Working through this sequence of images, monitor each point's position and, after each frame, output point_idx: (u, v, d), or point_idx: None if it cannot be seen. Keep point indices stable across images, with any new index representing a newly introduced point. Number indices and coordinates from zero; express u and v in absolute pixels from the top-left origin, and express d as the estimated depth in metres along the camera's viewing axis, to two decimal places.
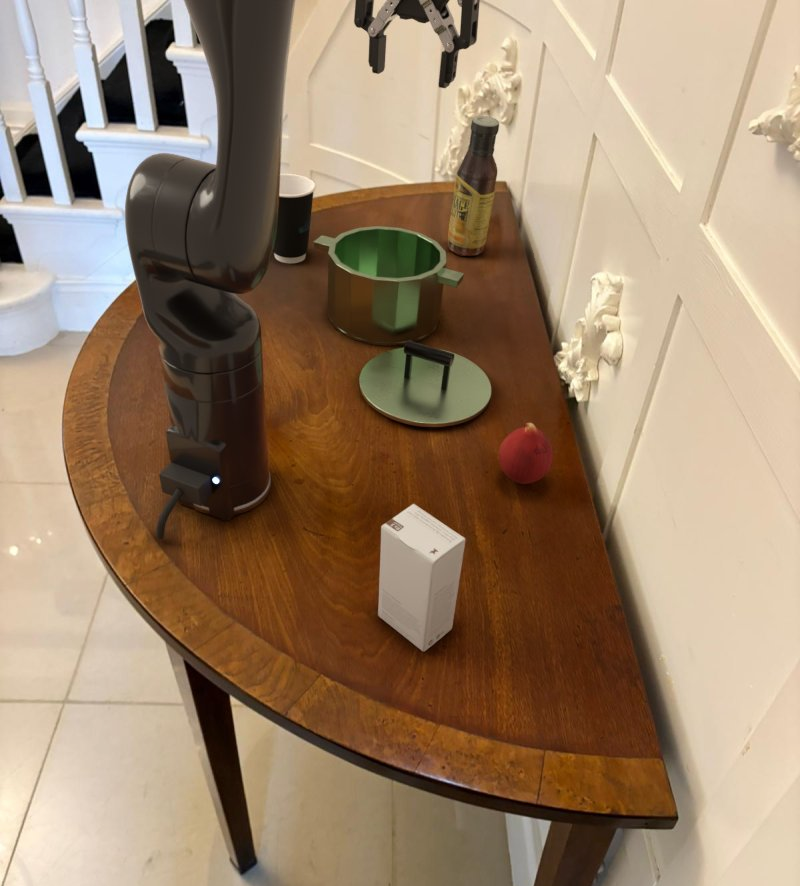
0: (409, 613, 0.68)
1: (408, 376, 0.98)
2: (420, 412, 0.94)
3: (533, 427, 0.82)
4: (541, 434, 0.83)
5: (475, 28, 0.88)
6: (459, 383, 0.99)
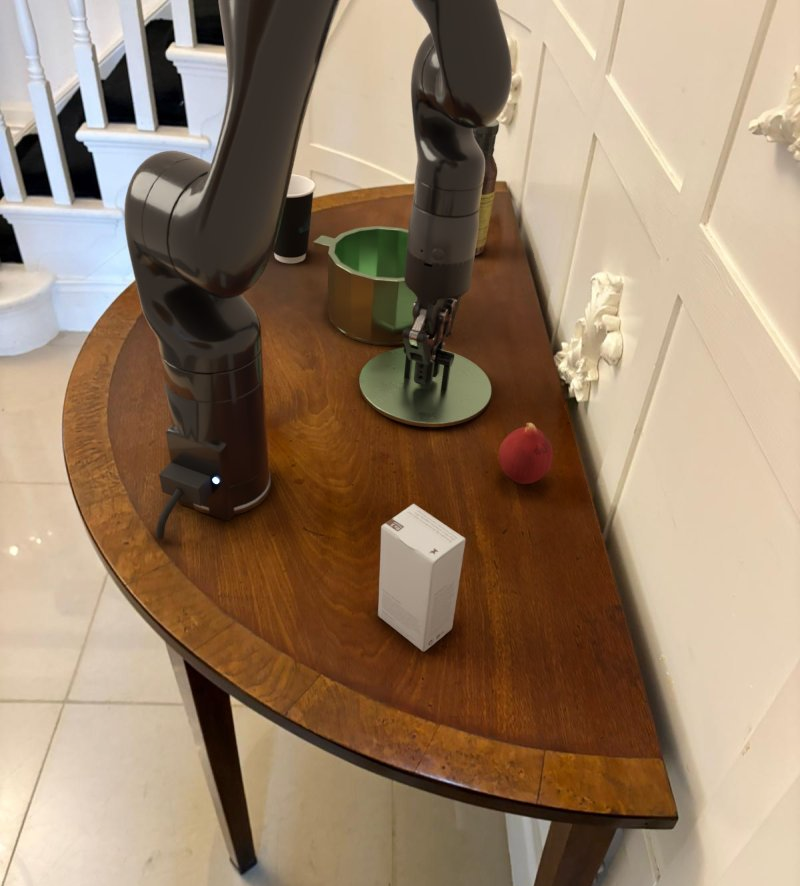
0: (409, 613, 0.68)
1: (408, 376, 0.98)
2: (420, 412, 0.94)
3: (533, 427, 0.82)
4: (541, 434, 0.83)
5: (423, 358, 0.91)
6: (459, 383, 0.99)
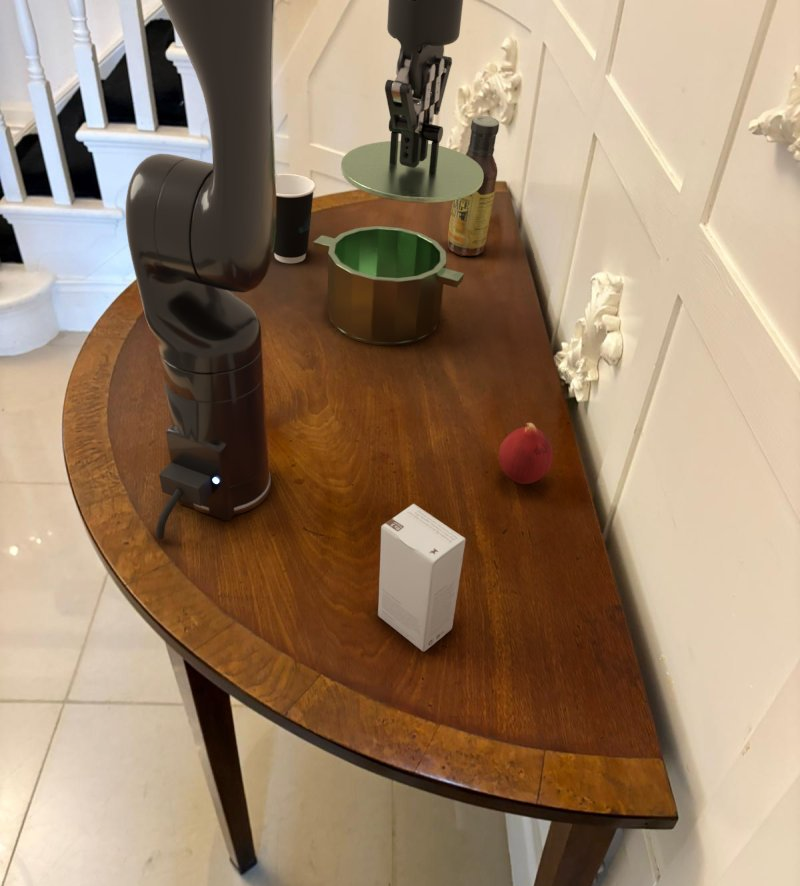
0: (409, 613, 0.68)
1: (394, 160, 0.91)
2: (405, 189, 0.87)
3: (533, 427, 0.82)
4: (541, 434, 0.83)
5: (407, 121, 0.84)
6: (449, 169, 0.92)
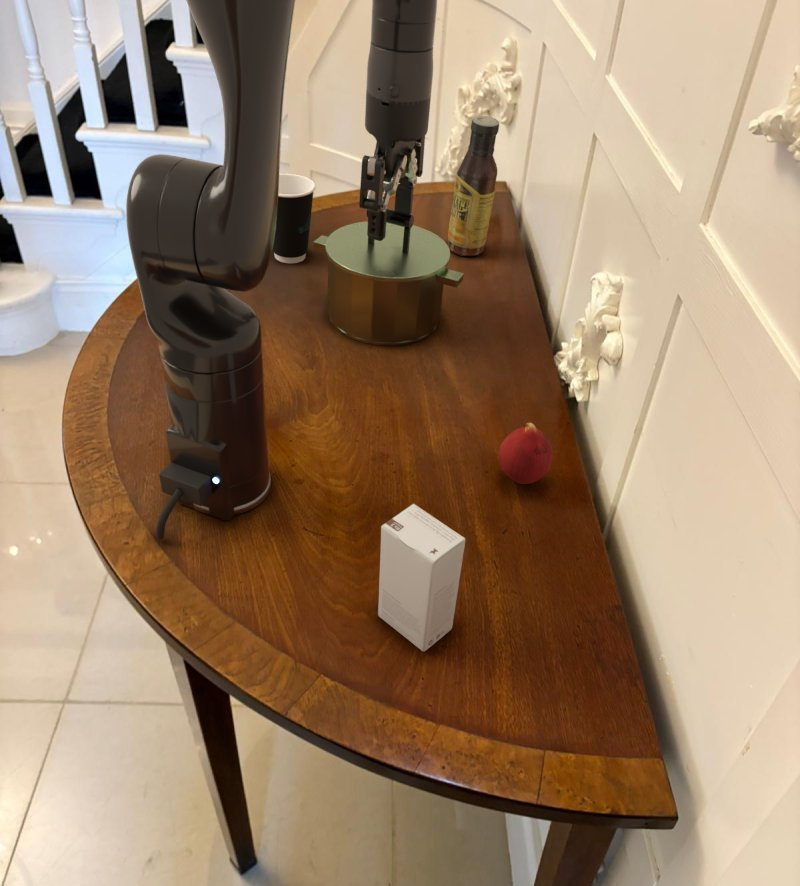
0: (409, 613, 0.68)
1: (371, 241, 1.04)
2: (381, 269, 1.00)
3: (533, 427, 0.82)
4: (541, 434, 0.83)
5: (375, 198, 0.93)
6: (420, 249, 1.05)
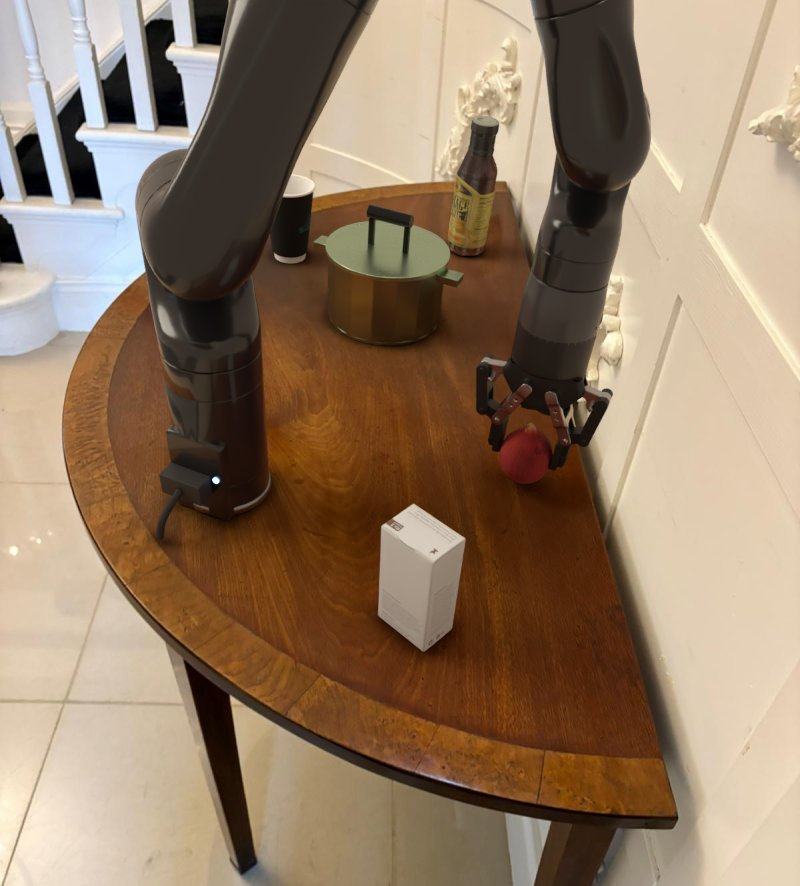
0: (409, 613, 0.68)
1: (371, 241, 1.04)
2: (381, 269, 1.00)
3: (533, 427, 0.82)
4: (541, 434, 0.83)
5: None
6: (420, 249, 1.05)
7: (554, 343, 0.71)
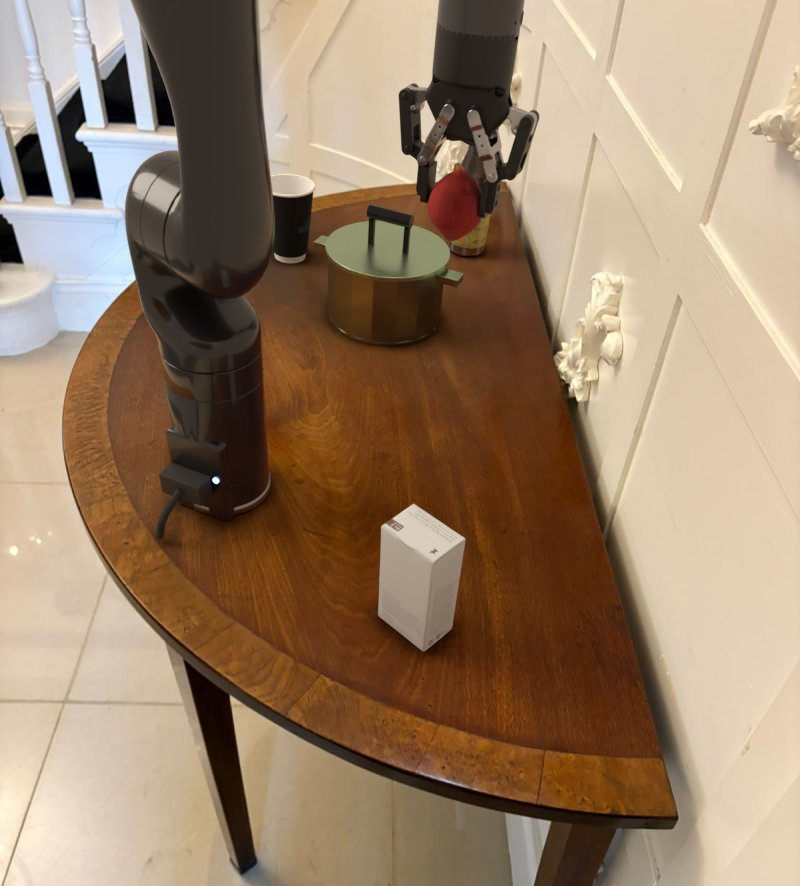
0: (409, 613, 0.68)
1: (371, 241, 1.04)
2: (381, 269, 1.00)
3: (461, 167, 0.79)
4: (470, 176, 0.80)
5: (524, 158, 0.77)
6: (420, 249, 1.05)
7: (470, 36, 0.68)
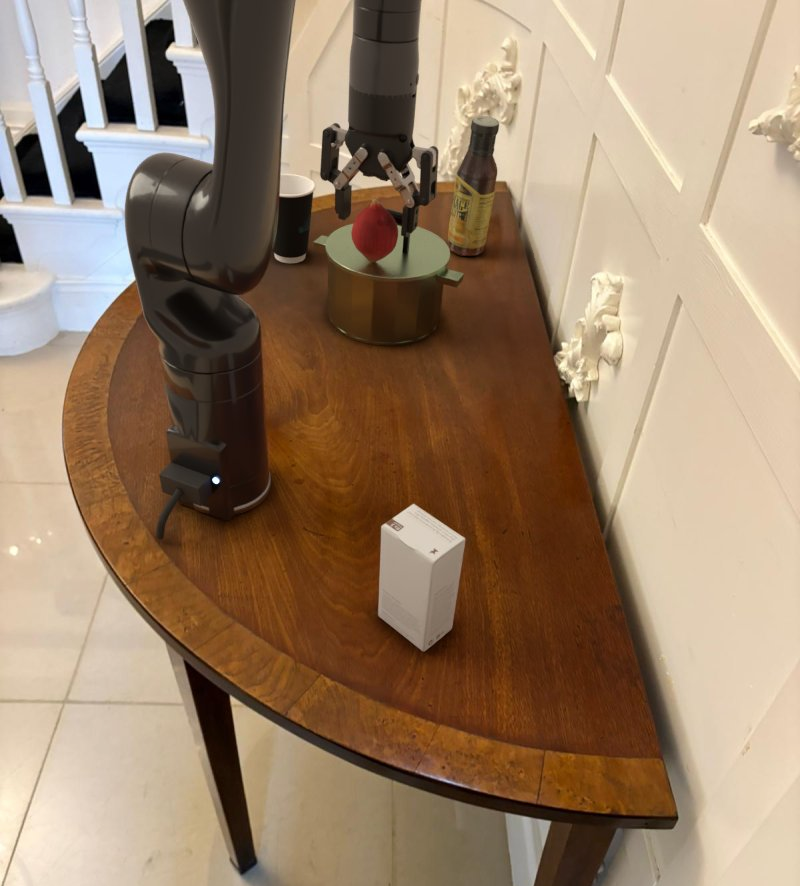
0: (409, 613, 0.68)
1: None
2: (381, 269, 1.00)
3: (376, 201, 0.95)
4: (384, 209, 0.96)
5: (434, 186, 0.92)
6: (420, 249, 1.05)
7: (374, 96, 0.84)
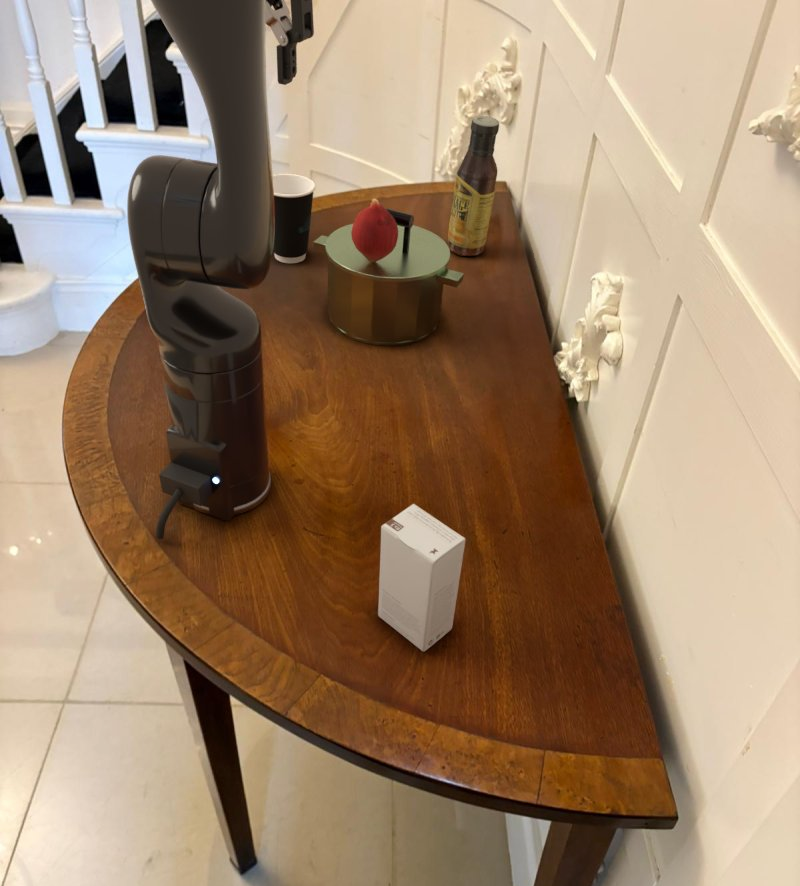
0: (409, 613, 0.68)
1: None
2: (381, 269, 1.00)
3: (376, 201, 0.95)
4: (384, 209, 0.96)
5: (310, 20, 0.82)
6: (420, 249, 1.05)
7: None
